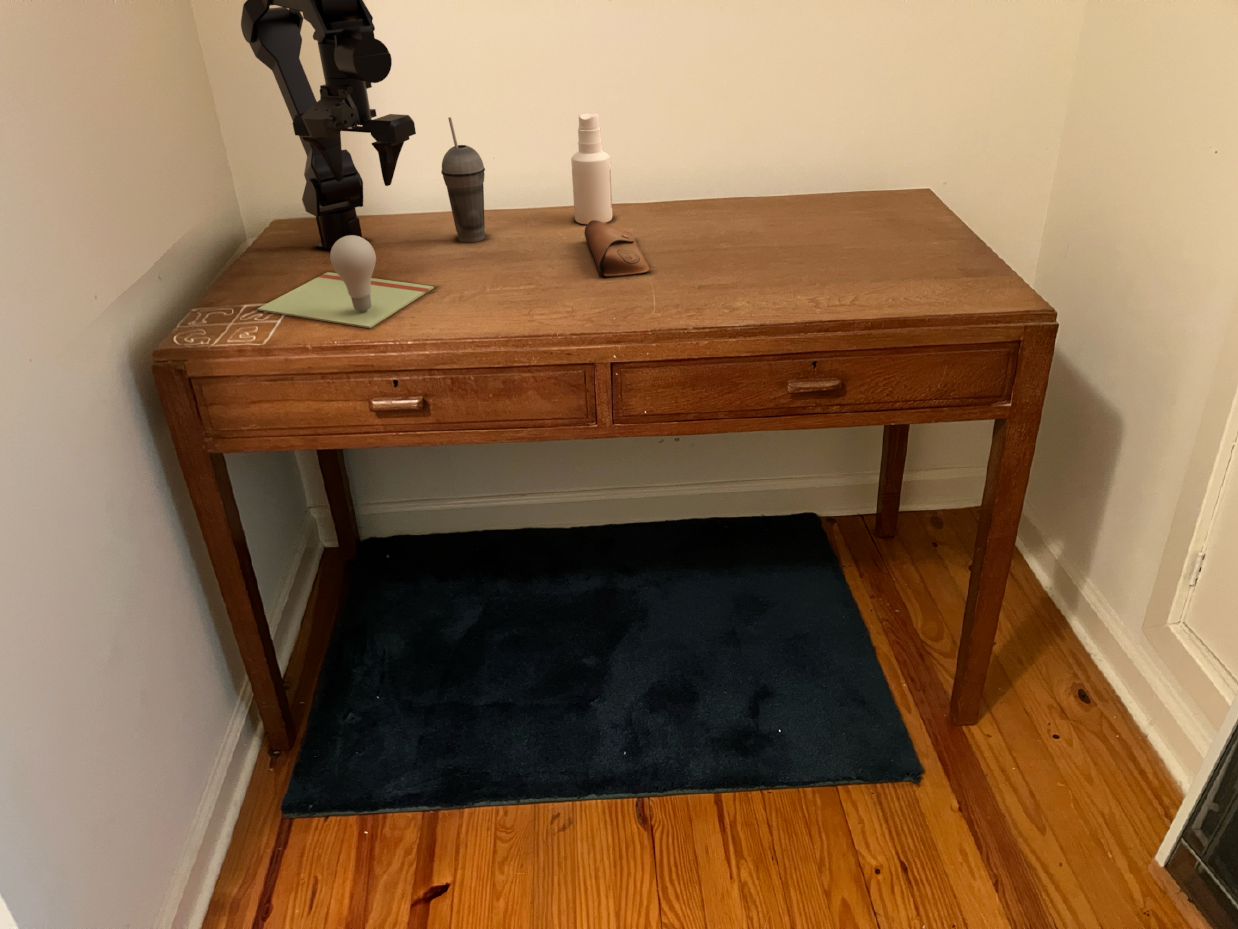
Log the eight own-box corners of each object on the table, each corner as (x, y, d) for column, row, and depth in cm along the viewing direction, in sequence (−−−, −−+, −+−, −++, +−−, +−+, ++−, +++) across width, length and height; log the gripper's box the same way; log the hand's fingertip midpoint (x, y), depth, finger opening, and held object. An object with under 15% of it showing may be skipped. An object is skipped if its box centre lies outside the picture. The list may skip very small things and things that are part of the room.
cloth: (257, 310, 133) (257, 308, 133) (328, 273, 146) (327, 271, 145) (369, 328, 126) (369, 326, 126) (433, 288, 139) (433, 286, 138)
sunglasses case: (654, 269, 140) (631, 234, 137) (616, 295, 141) (592, 261, 138) (633, 234, 155) (612, 202, 152) (599, 257, 157) (577, 226, 153)
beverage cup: (484, 245, 155) (470, 122, 144) (444, 244, 156) (427, 121, 145) (498, 232, 161) (485, 112, 150) (458, 230, 162) (443, 112, 151)
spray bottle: (617, 215, 167) (614, 111, 157) (605, 226, 161) (600, 119, 152) (582, 212, 169) (577, 110, 159) (569, 223, 163) (562, 118, 154)
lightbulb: (356, 301, 134) (341, 228, 128) (393, 305, 132) (380, 230, 127) (333, 317, 129) (317, 241, 123) (371, 321, 127) (357, 244, 122)
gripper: (256, 82, 131) (281, 192, 139) (362, 87, 124) (382, 202, 132) (307, 70, 139) (328, 173, 148) (409, 73, 133) (425, 182, 141)
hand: (363, 183), depth 142 cm, fingers open, 9 cm apart
